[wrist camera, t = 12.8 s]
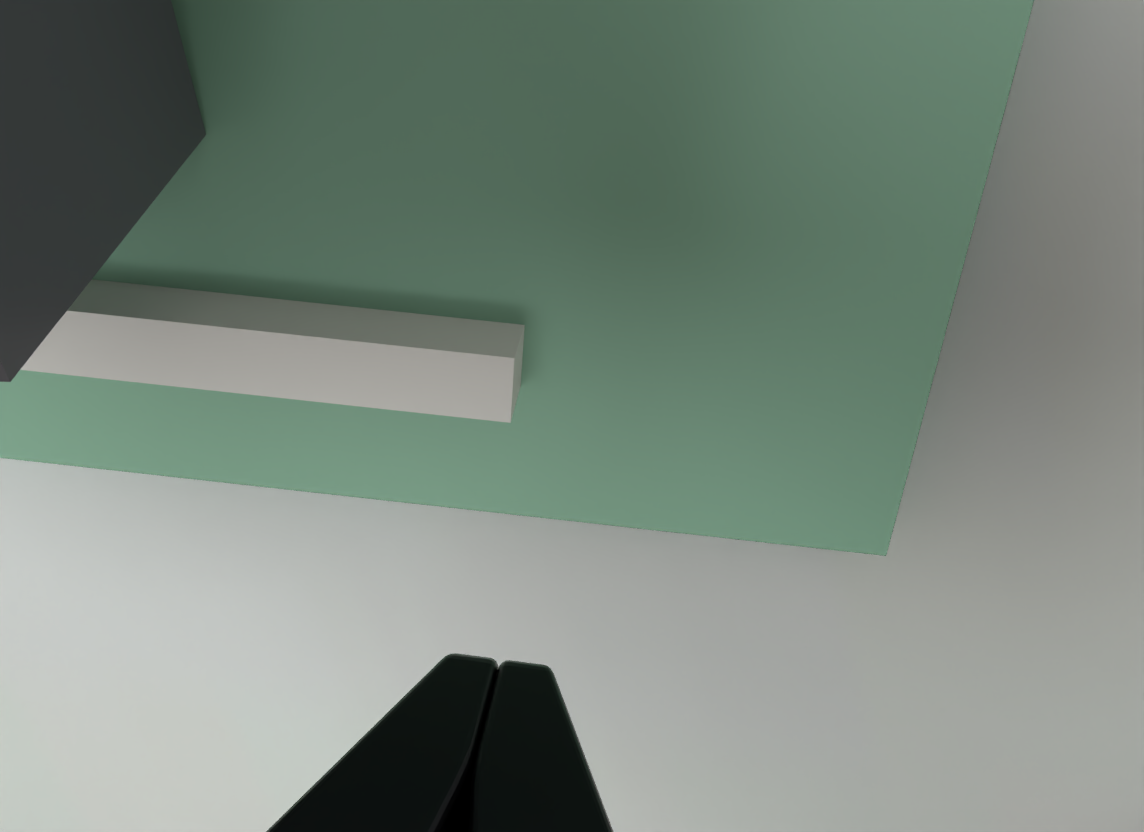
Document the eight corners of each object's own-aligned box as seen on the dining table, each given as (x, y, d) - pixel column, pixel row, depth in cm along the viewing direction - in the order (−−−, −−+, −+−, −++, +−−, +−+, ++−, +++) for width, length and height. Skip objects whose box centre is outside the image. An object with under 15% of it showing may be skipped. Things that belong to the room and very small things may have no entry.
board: (1165, -591, 11) (1484, -889, 7) (876, 528, 17) (946, 738, 13) (-667, -732, 12) (-1443, -1088, 7) (-292, 399, 18) (-587, 561, 14)
